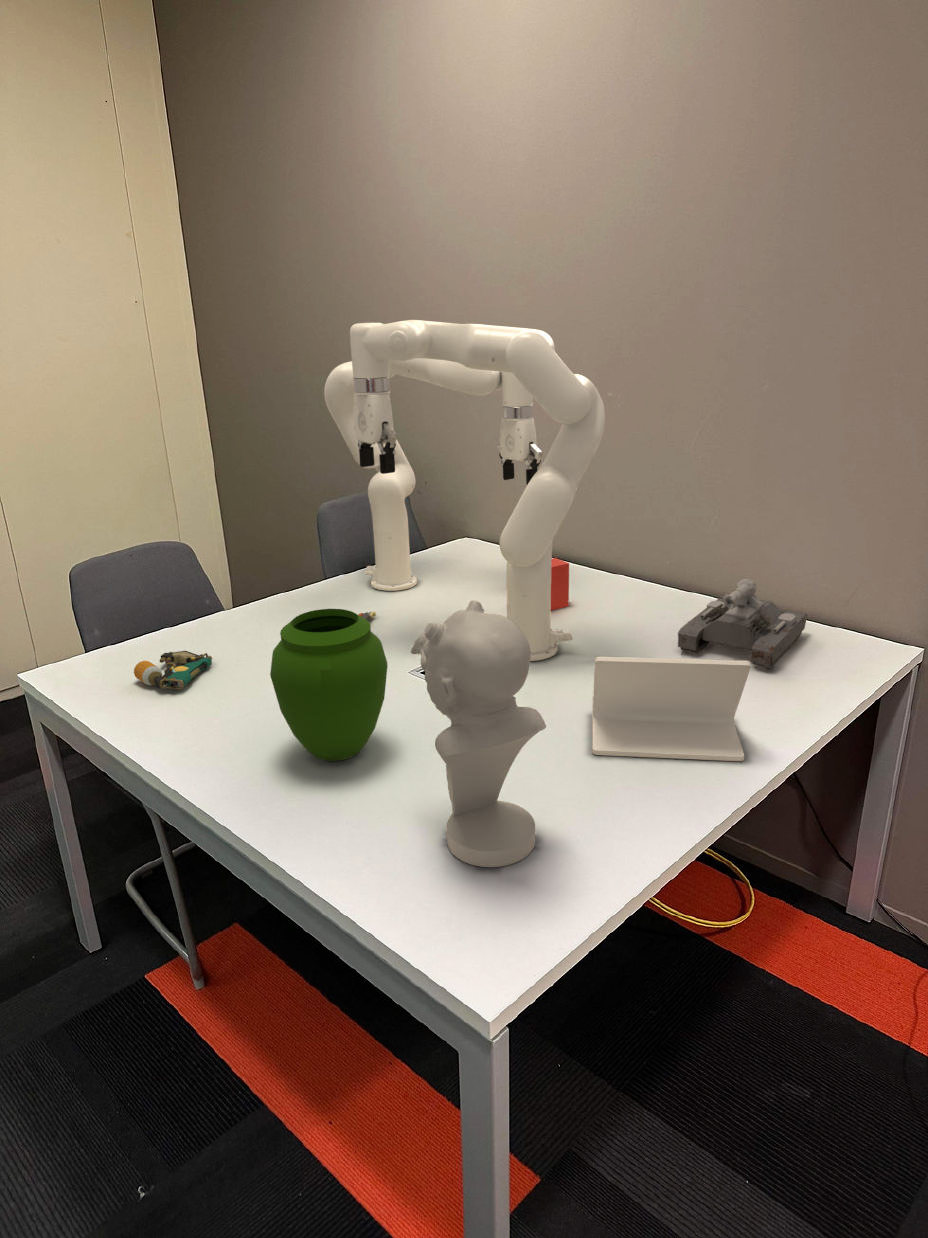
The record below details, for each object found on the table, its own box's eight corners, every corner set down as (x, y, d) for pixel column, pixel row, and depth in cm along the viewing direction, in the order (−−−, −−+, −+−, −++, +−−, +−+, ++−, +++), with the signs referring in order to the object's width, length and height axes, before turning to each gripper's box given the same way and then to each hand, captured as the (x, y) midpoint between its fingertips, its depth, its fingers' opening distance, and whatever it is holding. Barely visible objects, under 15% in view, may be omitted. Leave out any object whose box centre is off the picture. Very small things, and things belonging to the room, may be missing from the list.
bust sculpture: (481, 772, 140) (476, 569, 128) (565, 848, 120) (569, 617, 108) (392, 800, 134) (378, 588, 121) (465, 886, 114) (457, 642, 101)
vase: (415, 740, 151) (408, 611, 143) (343, 792, 136) (331, 651, 127) (331, 715, 161) (319, 593, 153) (256, 761, 146) (238, 628, 137)
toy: (718, 618, 203) (723, 557, 198) (805, 634, 192) (812, 570, 187) (676, 653, 184) (680, 587, 179) (769, 673, 173) (777, 604, 168)
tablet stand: (744, 761, 141) (754, 667, 135) (592, 754, 145) (595, 663, 139) (728, 711, 158) (736, 626, 152) (592, 707, 162) (594, 623, 156)
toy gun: (311, 634, 194) (352, 630, 192) (338, 611, 212) (376, 607, 210) (313, 645, 195) (354, 642, 193) (340, 621, 213) (378, 618, 211)
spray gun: (177, 659, 191) (231, 671, 185) (120, 684, 176) (176, 698, 171) (176, 641, 190) (230, 653, 184) (118, 665, 175) (174, 678, 169)
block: (527, 606, 215) (527, 563, 211) (554, 600, 219) (555, 557, 215) (540, 613, 210) (540, 569, 206) (568, 606, 215) (569, 563, 211)
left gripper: (485, 412, 215) (488, 479, 221) (527, 417, 202) (529, 488, 208) (509, 408, 219) (511, 475, 225) (552, 413, 206) (553, 484, 211)
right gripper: (338, 384, 180) (344, 465, 186) (374, 390, 166) (379, 478, 172) (370, 382, 184) (375, 461, 190) (408, 387, 170) (412, 473, 176)
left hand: (520, 481), depth 216 cm, fingers open, 9 cm apart
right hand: (377, 469), depth 181 cm, fingers open, 9 cm apart
